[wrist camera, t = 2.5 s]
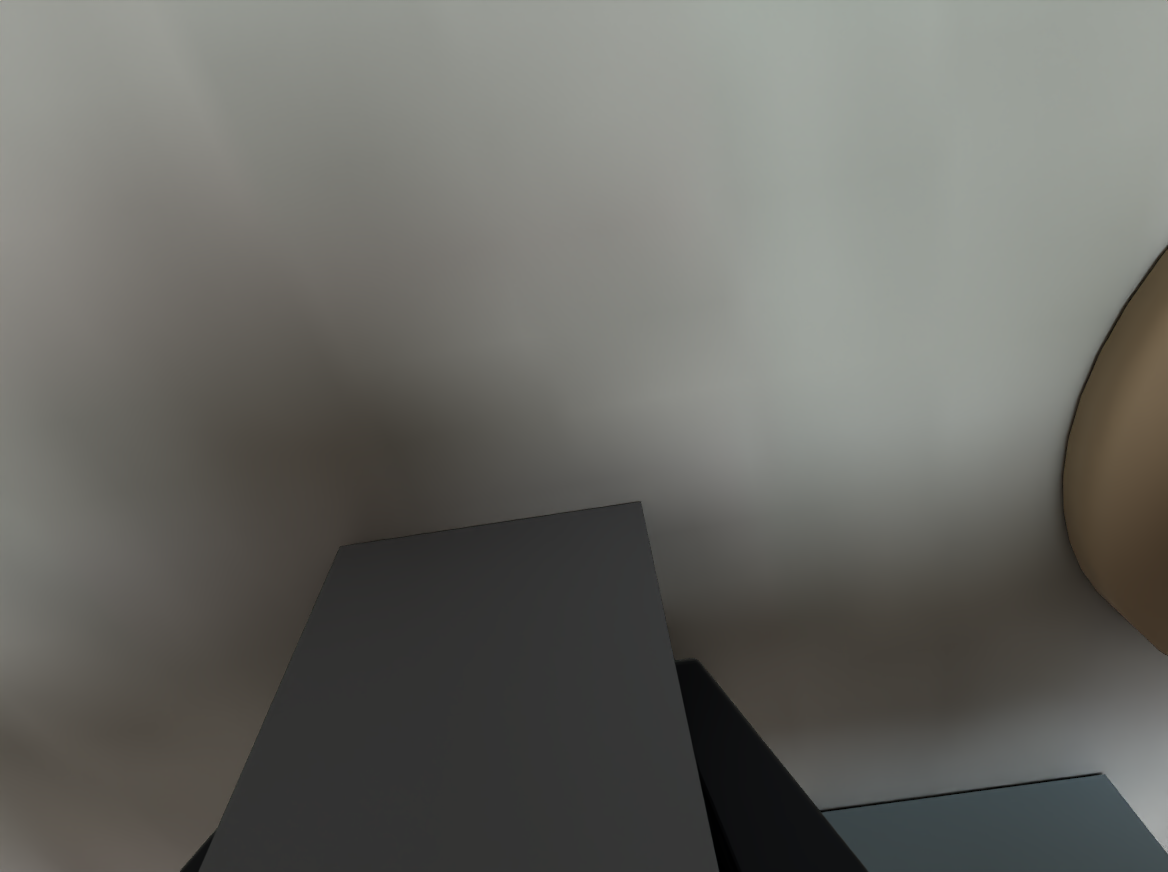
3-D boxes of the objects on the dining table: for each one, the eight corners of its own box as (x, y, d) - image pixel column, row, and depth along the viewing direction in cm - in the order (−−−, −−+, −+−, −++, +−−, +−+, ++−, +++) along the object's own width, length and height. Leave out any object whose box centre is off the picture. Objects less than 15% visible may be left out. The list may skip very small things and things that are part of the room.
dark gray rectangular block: (640, 501, 9) (785, 1194, 3) (668, 709, 11) (790, 1366, 5) (340, 546, 9) (18, 1283, 4) (419, 744, 11) (289, 1421, 5)
